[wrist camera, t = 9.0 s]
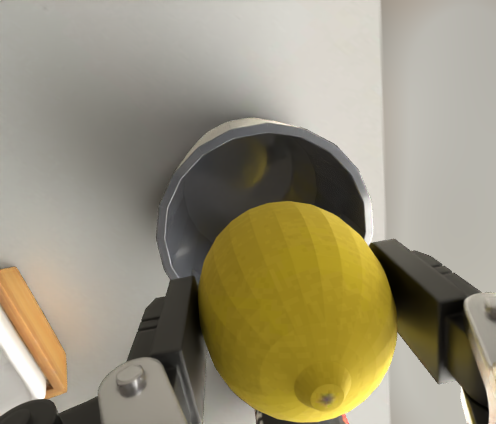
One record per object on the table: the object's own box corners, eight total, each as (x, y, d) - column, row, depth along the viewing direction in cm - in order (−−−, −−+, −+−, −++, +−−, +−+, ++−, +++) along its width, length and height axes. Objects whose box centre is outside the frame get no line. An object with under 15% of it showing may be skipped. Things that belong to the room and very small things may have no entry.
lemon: (310, 157, 13) (429, 223, 6) (352, 274, 15) (487, 446, 7) (180, 212, 14) (131, 345, 6) (235, 321, 15) (251, 534, 8)
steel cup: (165, 131, 23) (131, 146, 14) (311, 106, 23) (366, 105, 14) (195, 265, 26) (183, 345, 17) (325, 241, 26) (378, 308, 17)
